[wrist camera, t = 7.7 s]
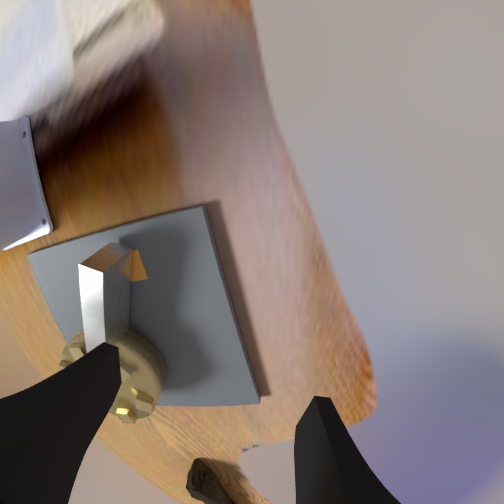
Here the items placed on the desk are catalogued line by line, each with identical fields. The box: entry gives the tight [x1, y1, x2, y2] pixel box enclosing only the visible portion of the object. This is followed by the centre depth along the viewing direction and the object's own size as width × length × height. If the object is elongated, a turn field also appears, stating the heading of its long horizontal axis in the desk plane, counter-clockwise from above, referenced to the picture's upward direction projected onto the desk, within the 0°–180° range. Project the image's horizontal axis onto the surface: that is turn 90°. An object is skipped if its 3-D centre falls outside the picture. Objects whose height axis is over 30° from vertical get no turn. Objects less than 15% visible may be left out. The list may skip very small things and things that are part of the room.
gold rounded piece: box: [59, 242, 167, 424], centre depth 17 cm, size 14×8×4 cm, turn 166°
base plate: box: [27, 204, 260, 406], centre depth 20 cm, size 16×16×1 cm
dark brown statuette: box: [186, 459, 234, 504], centre depth 29 cm, size 19×4×5 cm, turn 5°
